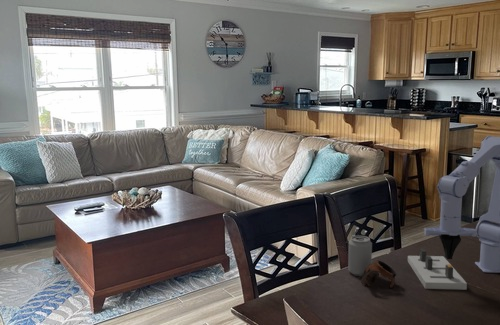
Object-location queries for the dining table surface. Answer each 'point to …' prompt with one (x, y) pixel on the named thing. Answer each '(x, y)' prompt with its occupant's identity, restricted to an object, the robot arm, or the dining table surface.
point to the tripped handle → (449, 271)
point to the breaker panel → (435, 272)
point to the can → (359, 254)
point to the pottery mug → (372, 273)
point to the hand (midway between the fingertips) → (448, 258)
